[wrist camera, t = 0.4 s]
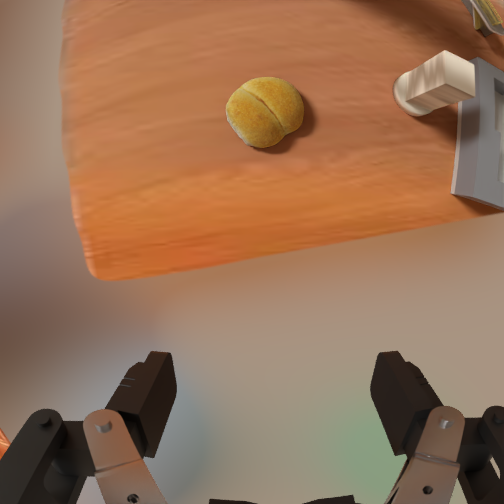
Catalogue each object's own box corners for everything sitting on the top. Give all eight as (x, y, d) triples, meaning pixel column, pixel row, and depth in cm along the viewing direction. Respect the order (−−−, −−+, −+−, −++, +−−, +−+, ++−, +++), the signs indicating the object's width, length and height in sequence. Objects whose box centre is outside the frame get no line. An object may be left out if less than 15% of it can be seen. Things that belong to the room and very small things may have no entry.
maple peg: (393, 69, 32) (436, 38, 20) (430, 83, 32) (480, 60, 20) (391, 109, 33) (437, 88, 22) (429, 121, 33) (481, 109, 22)
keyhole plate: (457, 66, 31) (477, 56, 25) (516, 99, 31) (537, 95, 25) (450, 193, 36) (472, 196, 30) (509, 213, 36) (531, 218, 30)
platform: (476, 70, 31) (500, 61, 24) (416, -22, 27) (433, -40, 21) (511, 59, 29) (534, 52, 23) (458, -24, 26) (475, -38, 19)
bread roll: (314, 117, 34) (320, 110, 31) (256, 158, 36) (255, 156, 32) (273, 67, 33) (274, 56, 29) (215, 107, 35) (210, 100, 31)
